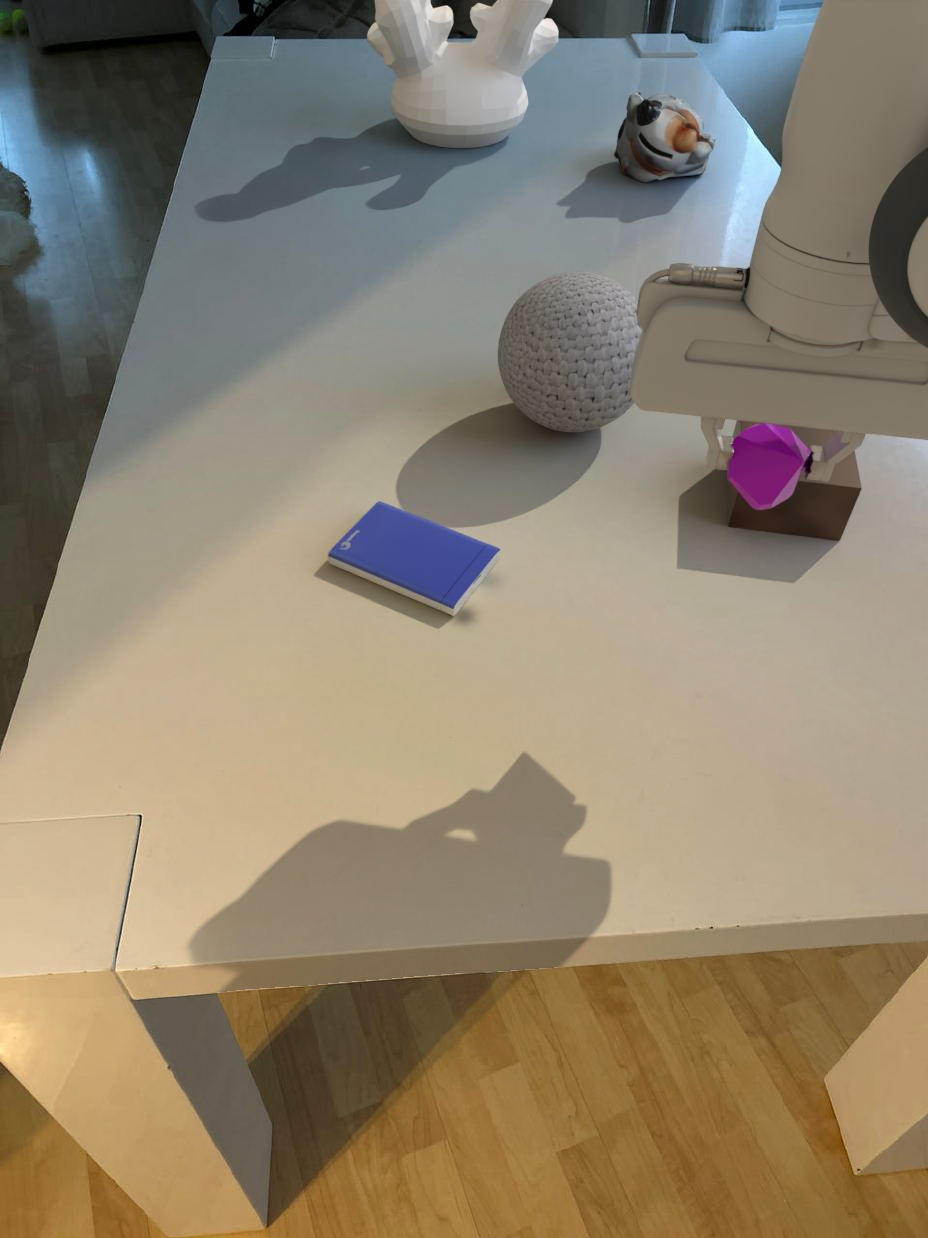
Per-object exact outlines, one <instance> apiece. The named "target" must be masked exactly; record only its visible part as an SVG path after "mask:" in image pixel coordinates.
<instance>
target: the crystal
mask: <svg viewBox="0 0 928 1238" xmlns="http://www.w3.org/2000/svg"><path fill="white" fill-rule="evenodd" d="M732 446H733V447H734V455H733V458H732V459H731V460H730V463H729V469H728V475H727V478H728V479H729V481H730V482H731V483H732V484H733V485H734V487H735V488H736V489H737V490H738V491H739V493H740V494H741V495H742V496H743V497H744V499H745V500H746V501H747V502H748V503H749V505H750V506H751V507H752V508H754V509H756V510H765V509H770V508H772V507H774V506H776V505H778V504H779V503H781V502H783V501H784V500H786V499H788V498H789V497H790V496H791V495H792V494H793V492H794V490H795V487H796V485H797V483H798V481H799V478H800V476H801V474H802V472H803V469H804V467H805V465H806V462H807V460H808V458H809V456H810V454H811V451H810V450H809V449H808V448H807V447H806V446H805V445H804V444H803V443H802V441H801V440H800V439H799V438H798V437H797V436H796V435H795V434H794V433H793V431H792V430H791V429H789V428H785V427H781V426H777V425H773V424H766V423H764V424H756V425H754V426H752V427H750V428H748V429H746V430H744V431H743V432H742V433H741V434H739V435H738V436H737V437H736V438H735V439H734V440H733V445H732Z"/></svg>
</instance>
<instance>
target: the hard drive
mask: <svg viewBox="0 0 928 1238" xmlns="http://www.w3.org/2000/svg"><path fill="white" fill-rule="evenodd" d="M500 557H501V548H500V547H497V546H496V545H492V544H490V543H486V542H484V541H481V540H479V539H476V538H473V537H471V536H469V535H466V534H465V533H461V532H459V531H457V530H454V529H451V528H449V527H447V526H444V525H441V524H439V523H437V522H434V521H432V520H429V519H426V518H424V517H421V516H418V515H416V514H414V513H411V512H409V511H406V510H404V509H401V508H399V507H396V506H394V505H391V504H388V503H386V502H384V501H381V500H378V501H376V503H374V505H373V506H372V507H370V508H369V510H368V511H367V512H366V513H365V514H364V515H362V517H361V518H360V519H359V520H358V521H357V522H356V523H355V524H354V525H353V526H352V527H351V528H350V529H349V530H348V531H347V532H345V534H343V536H342V537H341V538H340V539H339V541H337V543H335V544H334V545H333V546H332V547H331V549H330V550H329V552H328V553H327V560H328V563H329V565H331V566H333V567H337V568H339V569H341V570H344V571H346V572H348V573H351V574H353V575H355V576H358V577H359V578H360V577H361V578H362V579H365V580H367V581H370V582H372V583H375V584H377V585H379V586H380V587H381V586H382V587H384V588H387V589H389V590H391V591H393V592H396V593H397V594H400V595H403V596H405V597H408V598H410V599H413V600H414V601H417V602H420V603H422V604H424V605H427V606H429V607H431V608H434V609H436V610H438V611H441V612H443V613H445V614H448V615H450V616H452V617H454V616H455V615H457V614H458V613H459V611H460V610H461V609H462V607H463V606H464V605H465V604H466V602H467V601H468V600H469V599H470V597H471V596H472V595H473V593H474V592H475V591H476V590H477V588H478V587H479V586H480V584H481V583H482V582H483V581H484V580H485V578H486V577H487V575H488V574H489V573H490V572H491V570H492V569H493V568H494V567H495V566H496V564H497V562H498V561H499V559H500Z"/></svg>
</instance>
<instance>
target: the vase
mask: <svg viewBox="0 0 928 1238" xmlns="http://www.w3.org/2000/svg"><path fill="white" fill-rule="evenodd" d="M553 1H554V0H496V1H495V2H494V3H493V4H492V6H490V5H487V4H484V3H481V2H477V3H476V4H475V5H474V6H471V7H470V11H469V18H470V20H471V24H472V25H473V27H474V28H475V30H477V33H476V37H475V38H474V39H473V40H472V41H448V37H449V36H450V33H451V31H452V28H453V26H454V12H453V9H452V8H451V7H450V6H449V5H442V6H438V7H433V5H432V3H431V2H432V1H431V0H374V8H375V15H374V20H375V21H374V22H373V23H372V24H371V26H370V28H368V31H367V34H366V42H367V43H368V44H369V46H371V48H372V49H373V50H374V51H375V52H376V53H377V54H378V55H379V56H381V57H382V58H383V60H384V64H385V66H387V67H388V68H389V69H391V70H392V71H393V73H394V74H395V76H396V77H395V80H394V82H393V85H392V91H391V99H390V100H391V102H390V106H391V107H390V108H391V109H392V112H393V115H394V116H395V118H396V119H397V120H398V122H399V123H400V124H401V125H402V126H403V127H404V128H405V130H406V131H407V132H408V133H409V135H410V136H411V137H412V138H413V139H415V140H417V141H419V142H420V143H422V144H423V143H424V144H426V145H430V146H435V147H440V148H448V149H473V148H482V147H489V146H491V145H494V144H497V143H500V142H502V141H504V140H505V139H506V138H507V137H508V136H509V135H510V134H511V133H512V132H513V131H514V130H515V129H516V128H517V127H518V126H519V124H521V122H523V120H524V118H525V114H526V111H527V110H528V106H529V98H528V91H527V89H526V86H525V83H524V80H523V77H524V75H525V74H526V73H527V71H528V70H529V69H530V68H532V67H533V66H534V65H535V64H536V63H538V61H539V60H540V59H541V58H543V57H544V56H546V54H548V53H549V52H551V51H552V50H553V49H555V47H556V45H557V44H558V43H559V27H558V26H557V24H556V23H555V21H554V20H553V19H552V18H548V17H546V16H547V13H548V12H549V10H550V8H551V7H552V5H553ZM545 17H546V18H545Z"/></svg>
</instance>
